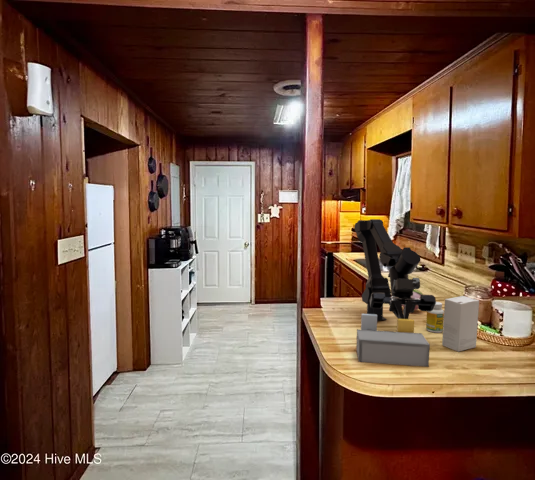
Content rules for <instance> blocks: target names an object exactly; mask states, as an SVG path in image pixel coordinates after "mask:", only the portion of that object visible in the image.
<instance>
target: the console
mask: <svg viewBox="0 0 535 480" xmlns="http://www.w3.org/2000/svg"><path fill="white" fill-rule="evenodd" d="M355 344H356V346H355V347H356V348H355V349H356V355H357V360H358V362H361V363H372V364H373V363H374V364H384V365H385V364H386V365H400V366H413V367H427V368H428V367H429V365H430V349H431V348H430V346H431V345H430V343H429V342H428V340H427V339H426V337H425V336H424V335H423V333H421V332H414V333H407V332H397V331H388V330H377V331H374V330H361V329H356V343H355Z"/></svg>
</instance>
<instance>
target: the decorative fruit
mask: <svg viewBox="0 0 535 480" xmlns="http://www.w3.org/2000/svg"><path fill="white" fill-rule="evenodd" d="M421 294H423V293H422V291H420V290H419V289H414V291H413V296H411V298H416V299H420V296H421ZM404 307H405V306H404V305H402V308H404ZM416 310H419V309H418V305H416V307H415V309H414V311H416Z"/></svg>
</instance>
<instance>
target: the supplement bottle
mask: <svg viewBox="0 0 535 480" xmlns="http://www.w3.org/2000/svg"><path fill="white" fill-rule="evenodd" d="M443 323H444V309H443V303H442V302H440V301H436V304H435V306H434V308H433V310H432V311H426V321H425V325H426V326H425V328H426V329H425V330H426V331H428V332H430V333H434V334H435V333H437V334H439V333H443Z"/></svg>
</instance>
